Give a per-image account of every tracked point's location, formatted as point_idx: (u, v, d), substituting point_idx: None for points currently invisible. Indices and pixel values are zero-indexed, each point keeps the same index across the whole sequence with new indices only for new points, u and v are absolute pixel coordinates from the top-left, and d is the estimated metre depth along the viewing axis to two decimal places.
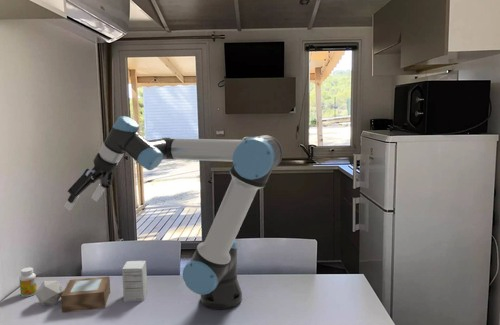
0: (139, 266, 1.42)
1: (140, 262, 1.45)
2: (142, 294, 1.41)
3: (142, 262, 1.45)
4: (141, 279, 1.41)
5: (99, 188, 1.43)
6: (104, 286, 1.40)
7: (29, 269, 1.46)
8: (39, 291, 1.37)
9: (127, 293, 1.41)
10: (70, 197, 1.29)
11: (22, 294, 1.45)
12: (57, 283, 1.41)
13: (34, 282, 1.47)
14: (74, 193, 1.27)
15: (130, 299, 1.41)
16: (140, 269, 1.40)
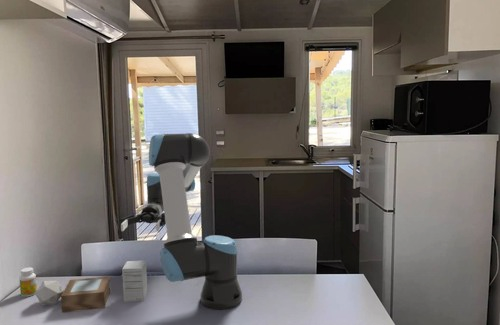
0: (139, 266, 1.42)
1: (140, 262, 1.45)
2: (142, 294, 1.41)
3: (142, 262, 1.45)
4: (141, 279, 1.41)
5: None
6: (104, 286, 1.40)
7: (29, 269, 1.46)
8: (39, 291, 1.37)
9: (127, 293, 1.41)
10: None
11: (22, 294, 1.45)
12: (57, 283, 1.41)
13: (34, 282, 1.47)
14: None
15: (130, 299, 1.41)
16: (140, 269, 1.40)
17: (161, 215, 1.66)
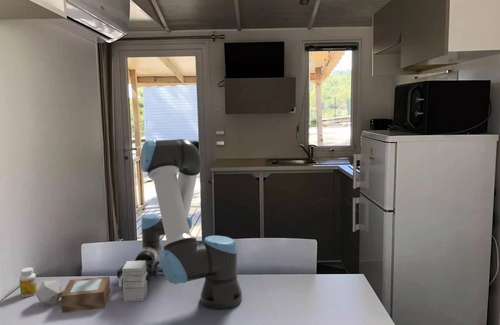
0: (139, 266, 1.42)
1: (140, 262, 1.45)
2: (142, 294, 1.41)
3: (142, 262, 1.45)
4: (141, 279, 1.41)
5: None
6: (104, 286, 1.40)
7: (29, 269, 1.46)
8: (39, 291, 1.37)
9: (127, 292, 1.41)
10: None
11: (22, 294, 1.45)
12: (57, 283, 1.41)
13: (34, 282, 1.47)
14: None
15: (130, 299, 1.41)
16: (140, 269, 1.40)
17: None
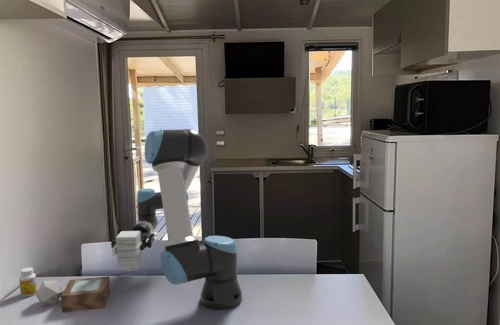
0: (133, 235, 1.40)
1: (134, 232, 1.43)
2: (136, 263, 1.40)
3: (136, 232, 1.44)
4: None
5: None
6: (104, 286, 1.40)
7: (29, 269, 1.46)
8: (39, 291, 1.37)
9: (121, 262, 1.40)
10: None
11: (22, 294, 1.45)
12: (57, 283, 1.41)
13: (34, 282, 1.47)
14: None
15: (124, 268, 1.40)
16: (134, 238, 1.39)
17: None
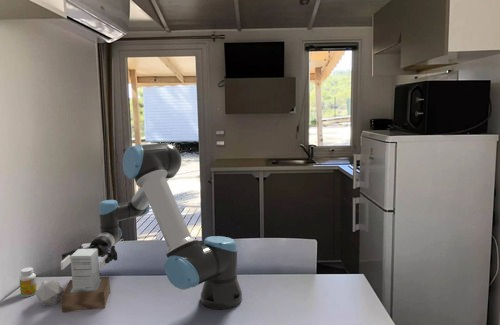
0: (88, 254, 1.37)
1: (90, 250, 1.41)
2: (91, 282, 1.37)
3: (93, 250, 1.41)
4: (90, 267, 1.36)
5: None
6: (104, 286, 1.40)
7: (29, 269, 1.46)
8: (39, 291, 1.37)
9: (76, 281, 1.37)
10: None
11: (22, 294, 1.45)
12: (57, 283, 1.41)
13: (34, 282, 1.47)
14: None
15: (79, 288, 1.37)
16: (89, 257, 1.36)
17: (111, 248, 1.51)
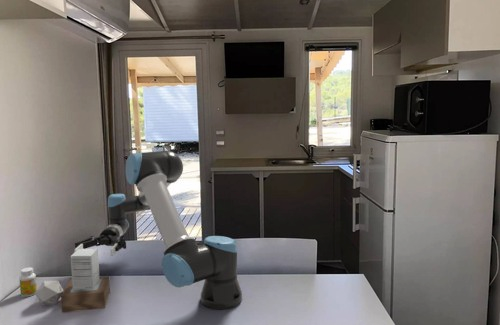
0: (88, 254, 1.37)
1: (90, 250, 1.41)
2: (91, 282, 1.37)
3: (93, 250, 1.41)
4: (90, 267, 1.36)
5: None
6: (104, 286, 1.40)
7: (29, 269, 1.46)
8: (39, 291, 1.37)
9: (76, 281, 1.37)
10: None
11: (22, 294, 1.45)
12: (57, 283, 1.41)
13: (34, 282, 1.47)
14: None
15: (79, 288, 1.37)
16: (89, 257, 1.36)
17: (119, 238, 1.63)
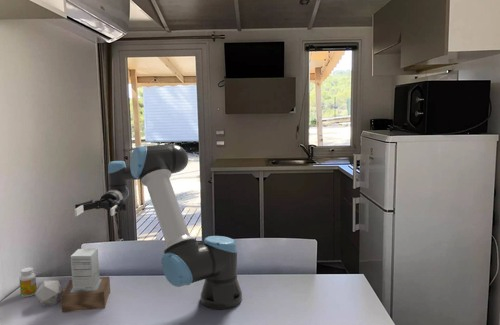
0: (88, 254, 1.37)
1: (90, 250, 1.41)
2: (91, 282, 1.37)
3: (93, 250, 1.41)
4: (90, 267, 1.36)
5: None
6: (104, 286, 1.40)
7: (29, 269, 1.46)
8: (39, 291, 1.37)
9: (76, 281, 1.37)
10: None
11: (22, 294, 1.45)
12: (57, 283, 1.41)
13: (34, 282, 1.47)
14: (76, 204, 1.57)
15: (79, 288, 1.37)
16: (89, 257, 1.36)
17: (119, 201, 1.64)
